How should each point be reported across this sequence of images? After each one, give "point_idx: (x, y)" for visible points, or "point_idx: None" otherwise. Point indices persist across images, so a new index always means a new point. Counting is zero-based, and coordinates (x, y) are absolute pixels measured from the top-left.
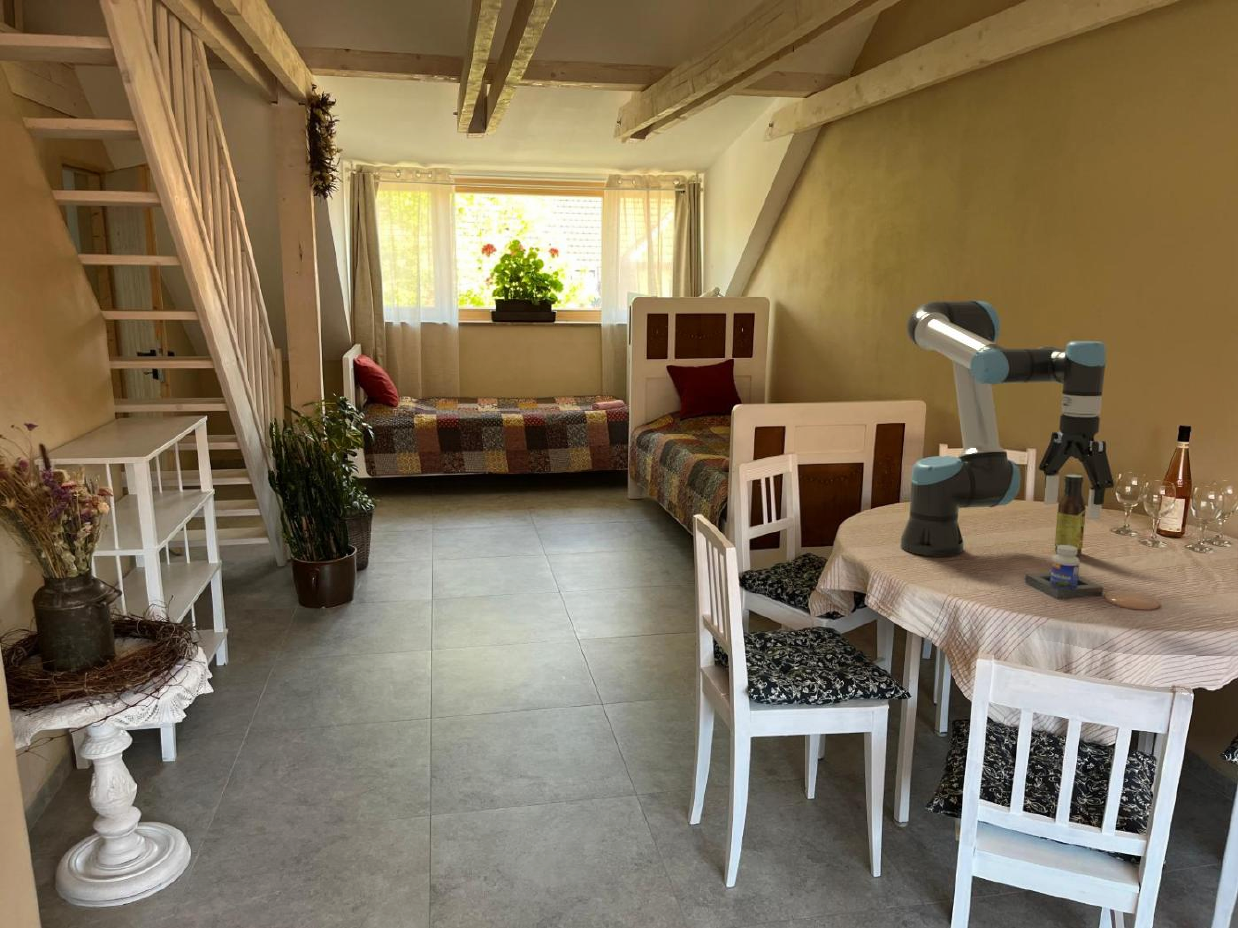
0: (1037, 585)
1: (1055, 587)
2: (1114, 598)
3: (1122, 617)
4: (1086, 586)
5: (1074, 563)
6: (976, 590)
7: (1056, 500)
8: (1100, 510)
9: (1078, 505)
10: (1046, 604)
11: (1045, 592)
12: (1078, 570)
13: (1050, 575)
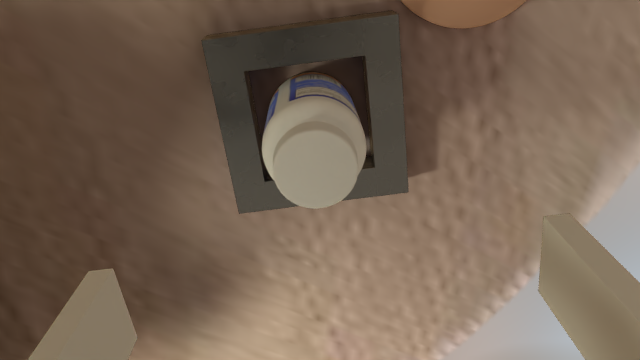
0: None
1: (378, 185)
2: (454, 3)
3: (585, 69)
4: (383, 76)
5: (365, 141)
6: (299, 346)
7: (104, 289)
8: (601, 252)
9: None
10: (433, 228)
11: None
12: (346, 101)
13: (253, 138)
